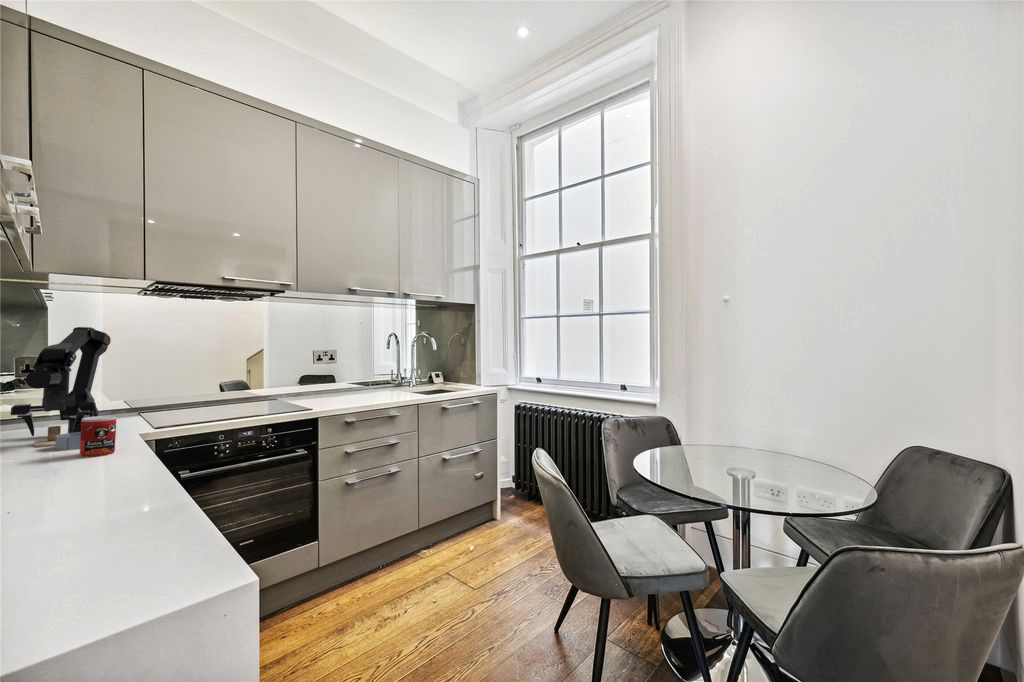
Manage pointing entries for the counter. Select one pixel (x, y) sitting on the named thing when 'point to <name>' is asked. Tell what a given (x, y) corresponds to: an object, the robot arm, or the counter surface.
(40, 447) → the mat
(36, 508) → the counter surface
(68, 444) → the bowl
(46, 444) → the lid
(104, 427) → the canned food
